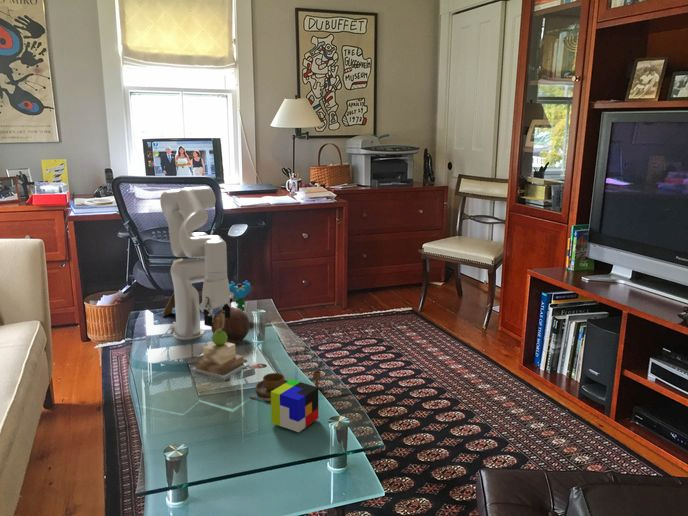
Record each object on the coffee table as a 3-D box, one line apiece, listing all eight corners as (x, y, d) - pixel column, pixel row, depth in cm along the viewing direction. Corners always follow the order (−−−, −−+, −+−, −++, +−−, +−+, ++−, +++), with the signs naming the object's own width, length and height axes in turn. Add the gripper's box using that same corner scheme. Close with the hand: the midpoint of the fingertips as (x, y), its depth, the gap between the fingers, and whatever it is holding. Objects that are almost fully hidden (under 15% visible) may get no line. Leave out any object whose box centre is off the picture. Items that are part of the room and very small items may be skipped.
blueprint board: (189, 371, 207) (189, 368, 207) (215, 357, 219) (215, 355, 219) (225, 380, 200) (225, 377, 200) (249, 366, 212) (249, 363, 212)
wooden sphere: (253, 337, 241) (253, 302, 238) (244, 350, 226) (243, 314, 223) (218, 335, 242) (217, 301, 239) (207, 349, 228) (205, 312, 224)
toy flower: (251, 323, 257) (250, 284, 253) (231, 325, 255) (229, 285, 251) (250, 317, 266) (249, 279, 262) (230, 318, 264) (228, 280, 260)
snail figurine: (231, 342, 211) (230, 310, 208) (222, 348, 205) (221, 316, 202) (218, 340, 212) (217, 309, 210) (209, 346, 206) (207, 314, 204)
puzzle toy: (298, 432, 166) (298, 400, 164) (271, 422, 172) (270, 391, 169) (318, 418, 175) (318, 387, 173) (291, 409, 180) (291, 379, 178)
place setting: (270, 377, 204) (270, 361, 202) (323, 386, 197) (323, 370, 196) (245, 398, 188) (244, 381, 186) (301, 409, 181) (301, 392, 180)
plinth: (195, 369, 207) (194, 348, 205) (217, 357, 217) (216, 337, 215) (222, 376, 201) (221, 354, 200) (243, 363, 212) (243, 343, 210)
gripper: (223, 268, 211) (225, 312, 215) (190, 279, 196) (192, 327, 200) (240, 271, 208) (241, 316, 212) (208, 282, 193) (209, 331, 197)
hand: (217, 321), depth 206 cm, fingers open, 9 cm apart
